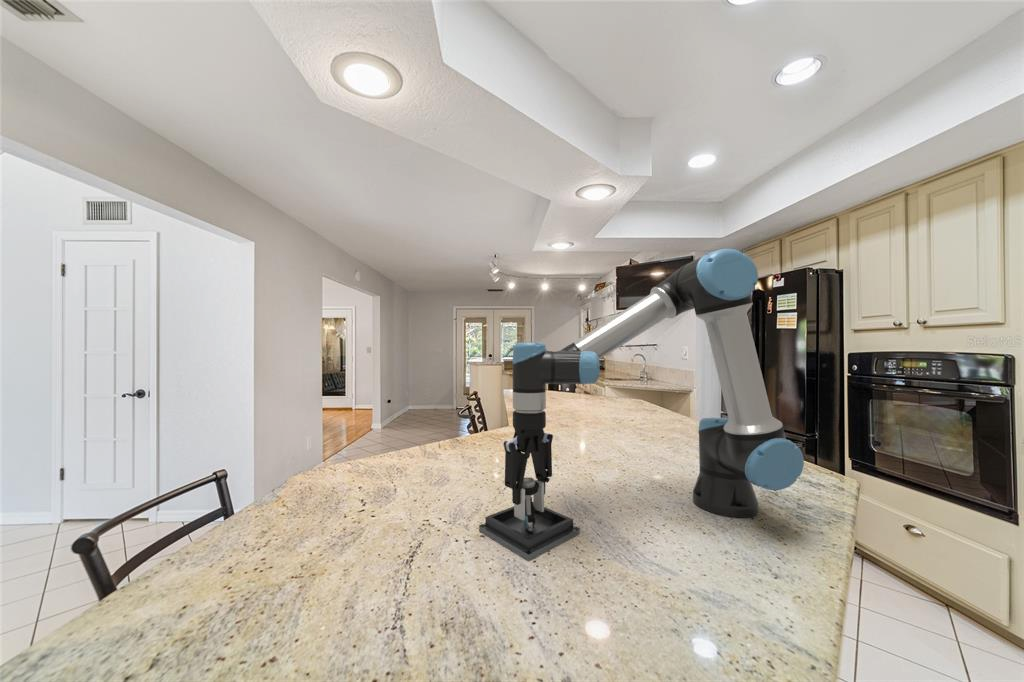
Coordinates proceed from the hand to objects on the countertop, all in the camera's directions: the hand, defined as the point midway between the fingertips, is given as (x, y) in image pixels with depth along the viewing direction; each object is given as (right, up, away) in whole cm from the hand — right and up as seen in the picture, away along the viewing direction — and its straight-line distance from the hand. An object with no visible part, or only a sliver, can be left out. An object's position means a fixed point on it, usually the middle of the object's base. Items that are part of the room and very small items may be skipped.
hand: (529, 513), depth 83 cm
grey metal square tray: (0, -4, 0) cm, 4 cm away
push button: (0, -3, 0) cm, 3 cm away
